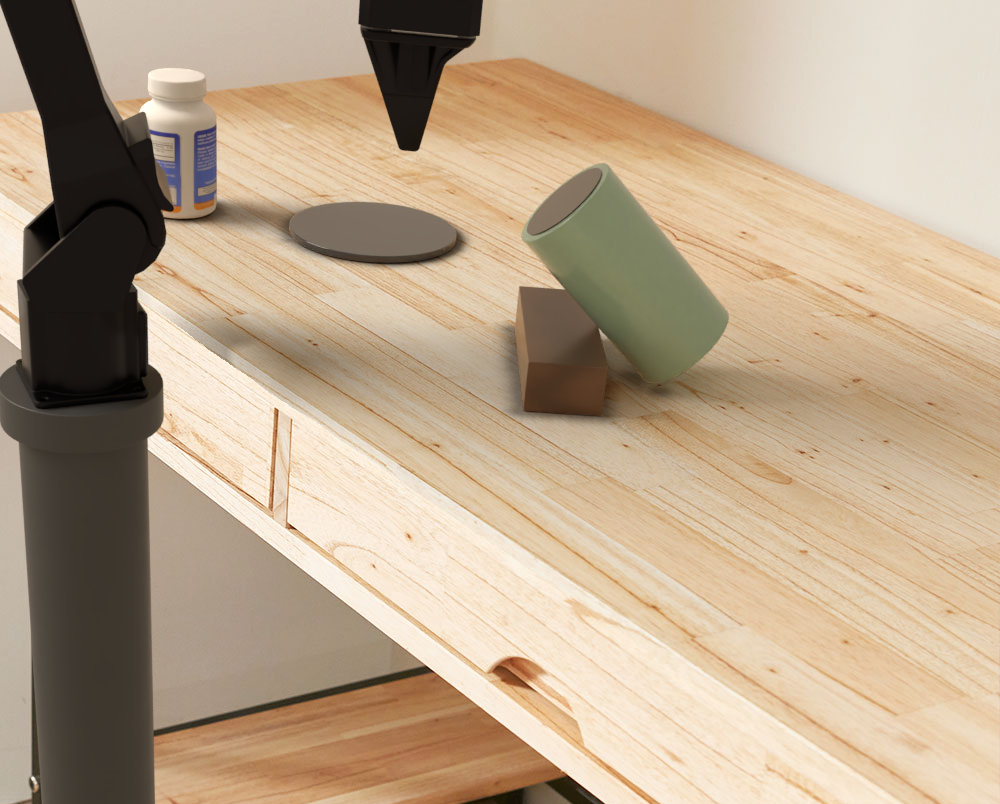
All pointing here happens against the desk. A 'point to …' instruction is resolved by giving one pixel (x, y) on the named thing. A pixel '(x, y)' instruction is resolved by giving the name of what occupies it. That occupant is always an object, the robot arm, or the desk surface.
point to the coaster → (372, 232)
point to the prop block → (558, 354)
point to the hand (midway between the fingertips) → (409, 128)
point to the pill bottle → (184, 139)
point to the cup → (626, 274)
